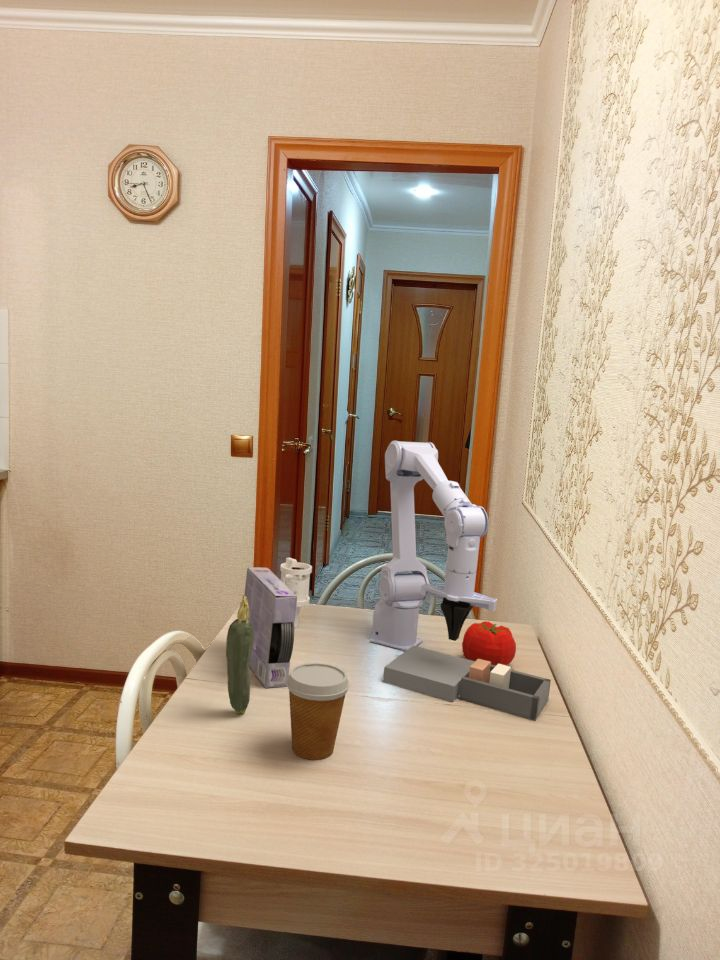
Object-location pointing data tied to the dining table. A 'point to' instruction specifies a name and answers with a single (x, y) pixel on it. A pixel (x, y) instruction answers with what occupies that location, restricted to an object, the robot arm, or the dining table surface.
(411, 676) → the slate board
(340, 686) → the disposable coffee cup
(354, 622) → the dining table surface
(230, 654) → the vegetable
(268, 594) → the cake pan box
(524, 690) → the box
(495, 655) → the tomato
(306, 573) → the strainer
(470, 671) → the tile terracotta
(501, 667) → the tile cream
